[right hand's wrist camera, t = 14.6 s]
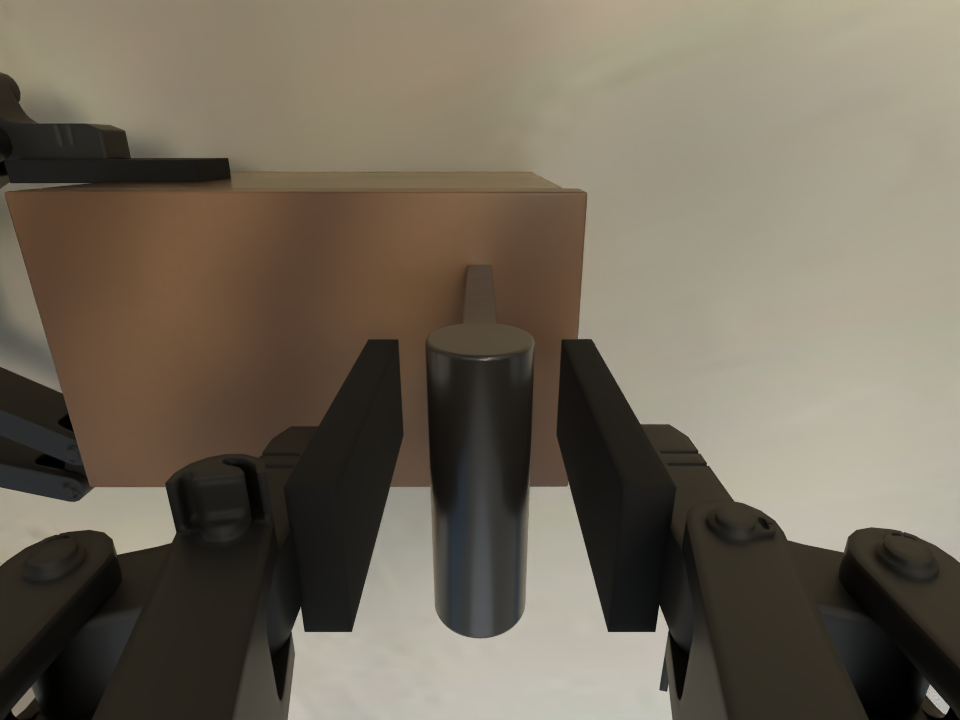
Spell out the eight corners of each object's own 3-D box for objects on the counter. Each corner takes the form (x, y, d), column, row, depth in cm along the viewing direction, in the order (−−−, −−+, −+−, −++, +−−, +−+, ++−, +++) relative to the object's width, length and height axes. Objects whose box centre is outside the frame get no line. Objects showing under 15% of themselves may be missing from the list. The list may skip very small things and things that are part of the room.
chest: (532, 172, 27) (566, 188, 17) (526, 358, 30) (551, 466, 20) (204, 172, 27) (37, 188, 17) (235, 358, 30) (113, 466, 20)
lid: (580, 188, 17) (688, 235, 8) (562, 467, 20) (626, 708, 11) (36, 188, 17) (-439, 234, 8) (112, 467, 20) (-164, 710, 11)
